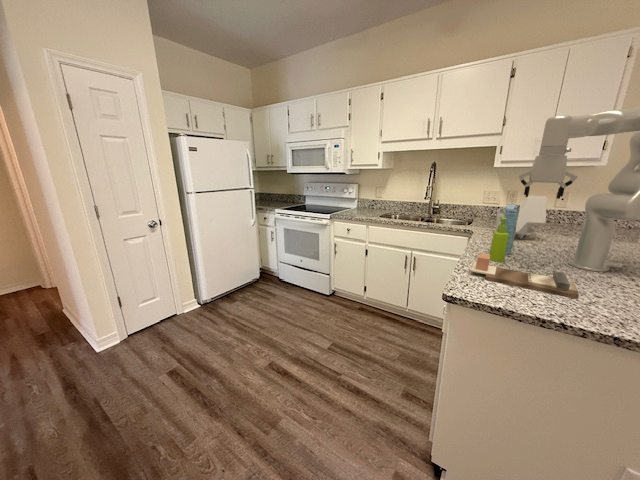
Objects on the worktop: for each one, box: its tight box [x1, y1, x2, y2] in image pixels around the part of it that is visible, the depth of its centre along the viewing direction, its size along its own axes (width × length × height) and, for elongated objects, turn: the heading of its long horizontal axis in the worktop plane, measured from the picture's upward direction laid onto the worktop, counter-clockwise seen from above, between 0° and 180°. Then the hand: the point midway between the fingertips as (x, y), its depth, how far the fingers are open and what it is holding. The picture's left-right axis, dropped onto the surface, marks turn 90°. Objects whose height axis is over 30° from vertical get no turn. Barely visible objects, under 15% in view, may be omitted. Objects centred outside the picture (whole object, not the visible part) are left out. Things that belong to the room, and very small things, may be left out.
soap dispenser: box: [489, 217, 509, 263], centre depth 120 cm, size 6×7×20 cm
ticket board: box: [485, 266, 580, 300], centre depth 98 cm, size 26×14×4 cm, turn 54°
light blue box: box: [504, 204, 521, 256], centre depth 135 cm, size 20×5×23 cm, turn 140°
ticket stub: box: [470, 253, 497, 276], centre depth 106 cm, size 8×10×6 cm
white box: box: [495, 195, 548, 240], centre depth 160 cm, size 20×16×25 cm
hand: (541, 197), depth 103 cm, fingers open, 9 cm apart
